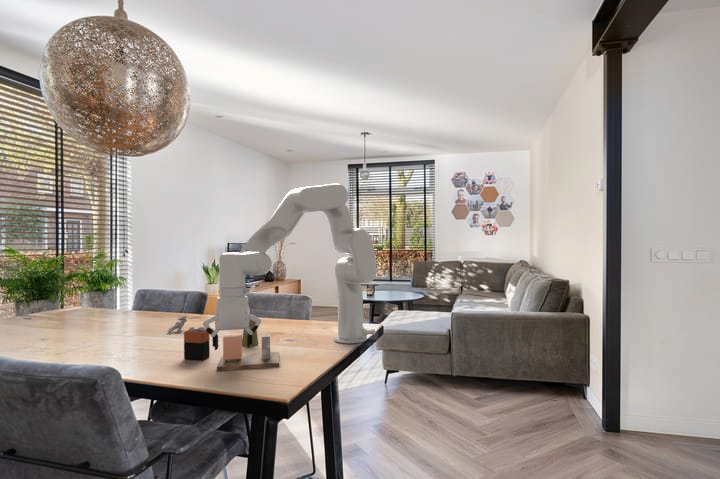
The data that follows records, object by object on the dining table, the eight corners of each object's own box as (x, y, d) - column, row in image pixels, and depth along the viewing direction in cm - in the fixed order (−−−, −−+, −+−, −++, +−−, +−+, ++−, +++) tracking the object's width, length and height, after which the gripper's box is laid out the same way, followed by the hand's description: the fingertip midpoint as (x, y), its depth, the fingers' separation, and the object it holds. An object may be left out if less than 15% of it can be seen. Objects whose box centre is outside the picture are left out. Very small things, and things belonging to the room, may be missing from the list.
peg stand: (278, 355, 136) (278, 330, 136) (279, 366, 124) (279, 339, 124) (221, 359, 132) (221, 333, 132) (216, 371, 121) (216, 343, 121)
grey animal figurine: (161, 332, 172) (178, 321, 180) (170, 342, 172) (187, 330, 179) (167, 319, 167) (185, 308, 174) (177, 330, 166) (194, 318, 173)
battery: (202, 360, 131) (202, 329, 131) (183, 359, 132) (183, 328, 132) (210, 357, 135) (210, 326, 135) (191, 356, 136) (191, 325, 136)
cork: (254, 347, 147) (253, 316, 147) (238, 346, 148) (238, 315, 148) (261, 342, 153) (261, 313, 153) (246, 342, 154) (246, 312, 154)
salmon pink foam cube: (242, 353, 131) (242, 333, 130) (241, 358, 125) (240, 337, 125) (225, 355, 129) (225, 334, 129) (223, 359, 124) (223, 338, 124)
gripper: (261, 290, 133) (261, 343, 133) (204, 292, 129) (205, 346, 129) (260, 293, 125) (261, 349, 126) (200, 295, 122) (201, 353, 122)
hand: (232, 347), depth 127 cm, fingers open, 9 cm apart
